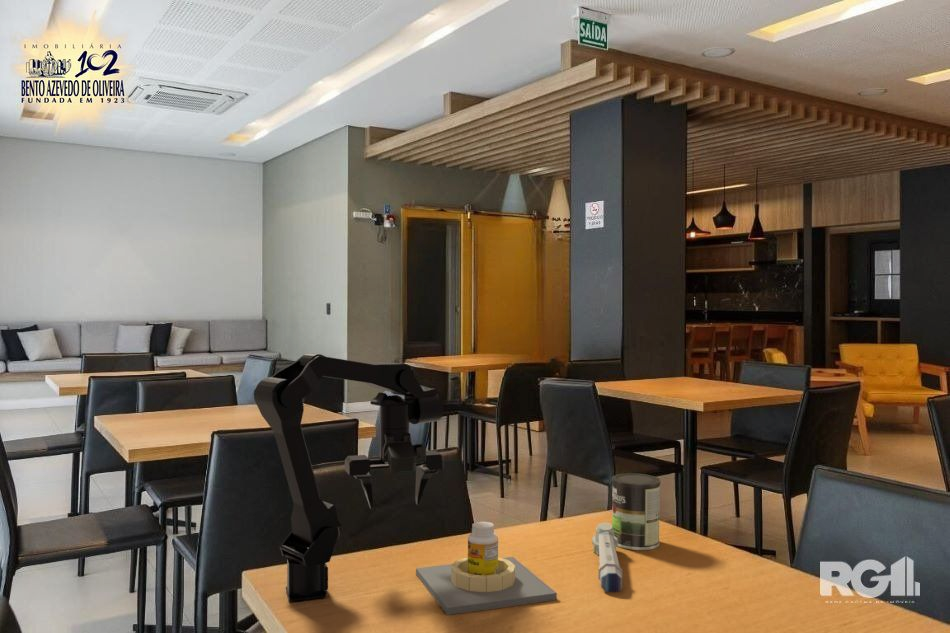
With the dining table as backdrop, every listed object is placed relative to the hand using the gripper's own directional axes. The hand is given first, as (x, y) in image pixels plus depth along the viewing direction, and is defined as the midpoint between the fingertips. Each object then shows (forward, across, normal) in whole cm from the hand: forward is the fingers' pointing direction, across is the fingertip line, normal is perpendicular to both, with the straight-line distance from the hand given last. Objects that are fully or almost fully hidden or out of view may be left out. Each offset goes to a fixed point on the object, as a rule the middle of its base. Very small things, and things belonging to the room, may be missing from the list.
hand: (394, 506), depth 147 cm
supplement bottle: (+11, +13, -15) cm, 23 cm away
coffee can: (+12, +53, -2) cm, 54 cm away
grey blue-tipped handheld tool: (+13, +39, -14) cm, 44 cm away
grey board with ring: (+12, +13, -15) cm, 23 cm away
